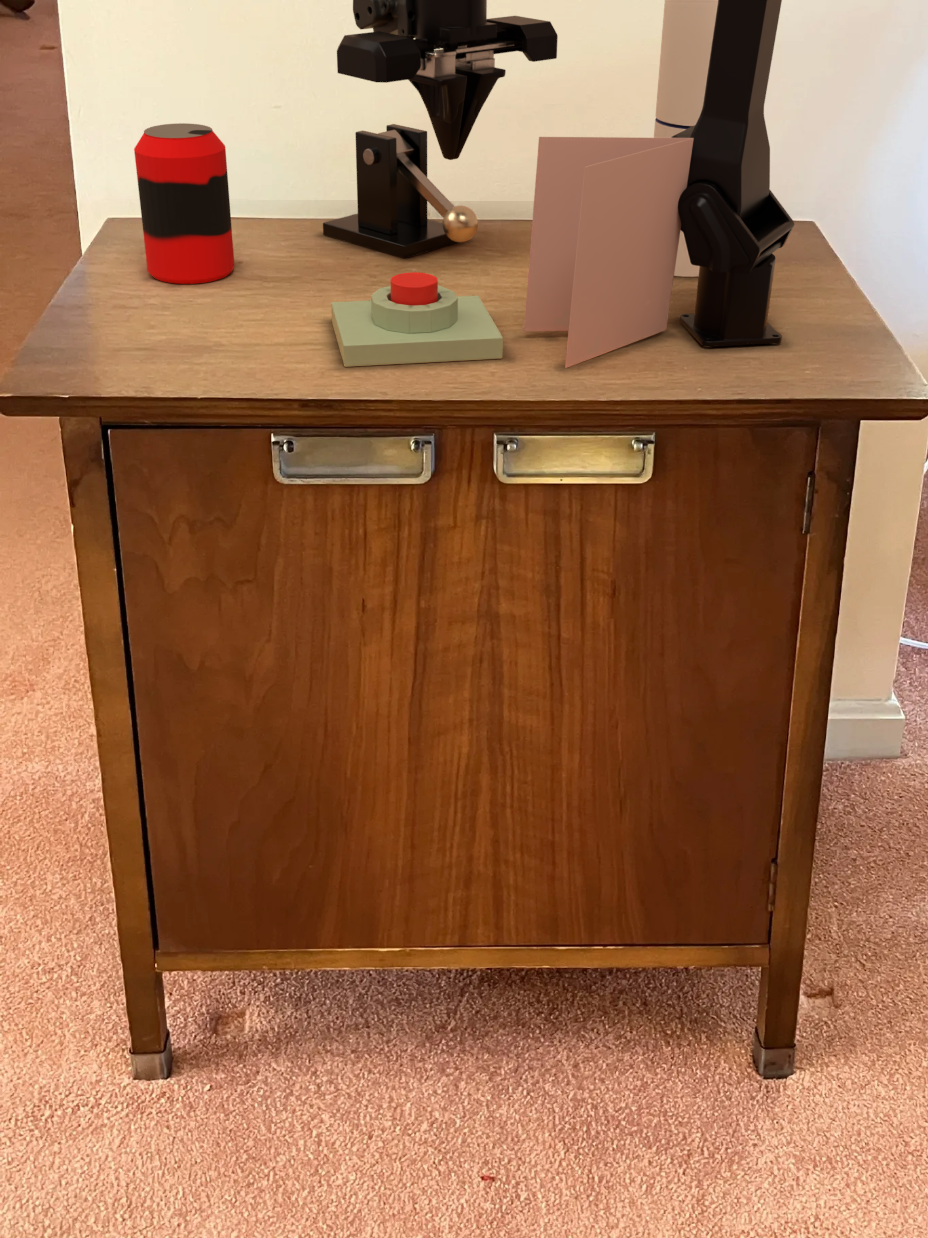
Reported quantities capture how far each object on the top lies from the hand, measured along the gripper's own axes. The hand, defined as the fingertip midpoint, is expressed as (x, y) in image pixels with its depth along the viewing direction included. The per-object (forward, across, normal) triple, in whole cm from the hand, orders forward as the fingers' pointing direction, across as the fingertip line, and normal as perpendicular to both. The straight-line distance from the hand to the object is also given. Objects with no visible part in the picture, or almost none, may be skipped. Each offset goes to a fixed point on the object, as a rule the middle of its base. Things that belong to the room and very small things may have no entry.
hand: (450, 158), depth 114 cm
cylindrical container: (+11, -20, +9) cm, 24 cm away
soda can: (+10, +16, -16) cm, 25 cm away
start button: (+7, +12, +10) cm, 17 cm away
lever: (+6, -4, -10) cm, 13 cm away
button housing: (+10, +12, +10) cm, 18 cm away
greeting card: (+10, +1, +20) cm, 23 cm away
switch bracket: (+10, -4, -14) cm, 18 cm away
